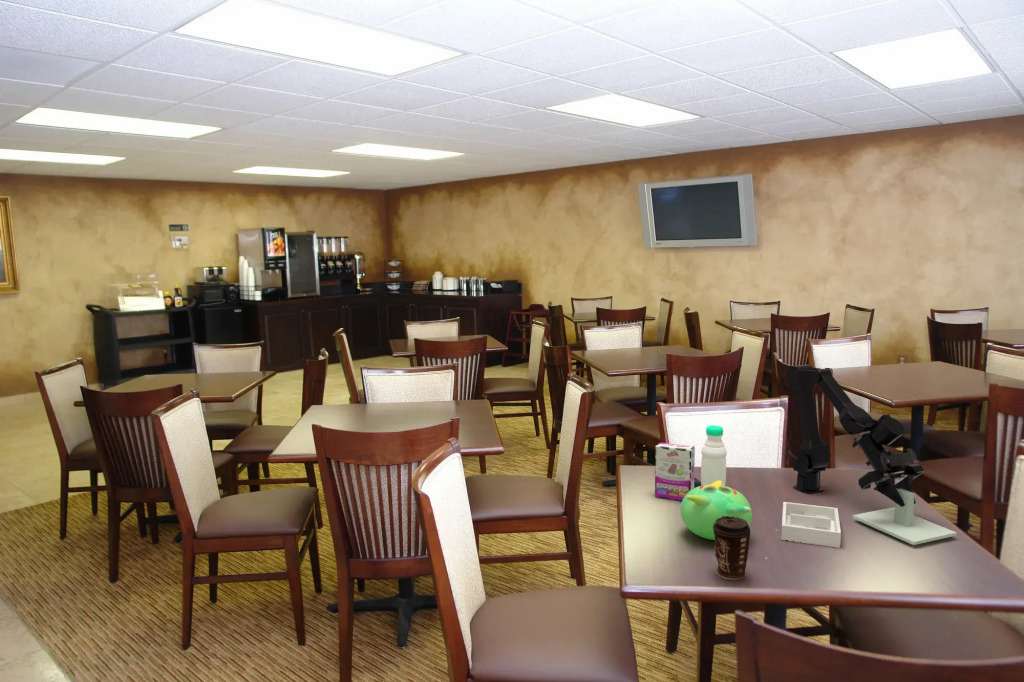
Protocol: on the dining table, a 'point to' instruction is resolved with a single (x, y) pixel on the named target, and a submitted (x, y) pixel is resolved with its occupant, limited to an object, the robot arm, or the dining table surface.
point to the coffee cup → (731, 546)
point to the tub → (811, 524)
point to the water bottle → (713, 457)
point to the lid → (904, 522)
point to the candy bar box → (674, 470)
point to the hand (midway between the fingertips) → (908, 505)
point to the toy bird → (712, 507)
